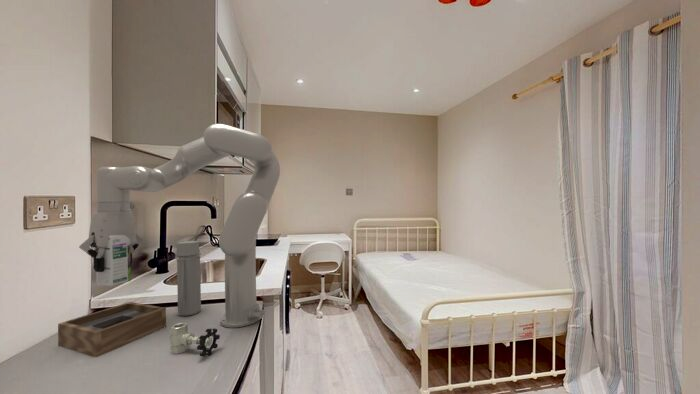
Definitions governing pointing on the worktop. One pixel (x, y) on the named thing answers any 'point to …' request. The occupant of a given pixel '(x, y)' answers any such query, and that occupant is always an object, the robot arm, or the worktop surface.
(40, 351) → the worktop surface
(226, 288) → the robot arm
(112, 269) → the syrup box
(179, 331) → the valve
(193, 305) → the water bottle
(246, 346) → the worktop surface
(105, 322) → the socket box
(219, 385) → the worktop surface
